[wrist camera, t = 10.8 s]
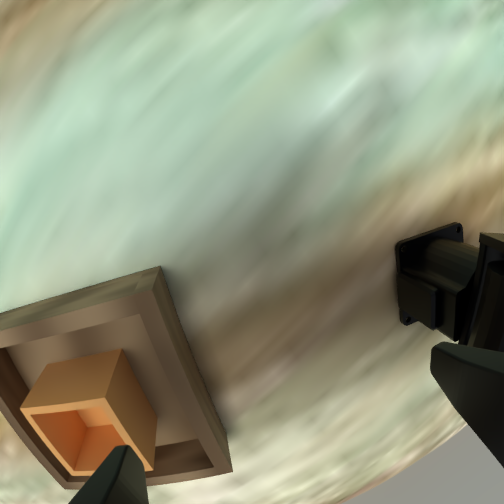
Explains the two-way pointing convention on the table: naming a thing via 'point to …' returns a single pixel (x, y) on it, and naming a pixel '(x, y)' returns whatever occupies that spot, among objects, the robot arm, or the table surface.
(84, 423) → the small crate
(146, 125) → the table surface
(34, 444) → the walnut crate
